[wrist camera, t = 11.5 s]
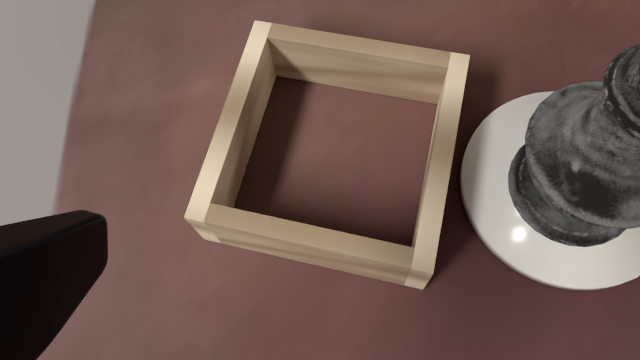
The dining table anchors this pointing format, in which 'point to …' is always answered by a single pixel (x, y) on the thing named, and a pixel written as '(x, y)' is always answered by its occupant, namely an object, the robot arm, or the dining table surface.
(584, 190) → the grey tall domed piece
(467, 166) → the coaster
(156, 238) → the dining table surface
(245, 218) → the birch holder
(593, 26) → the dining table surface
